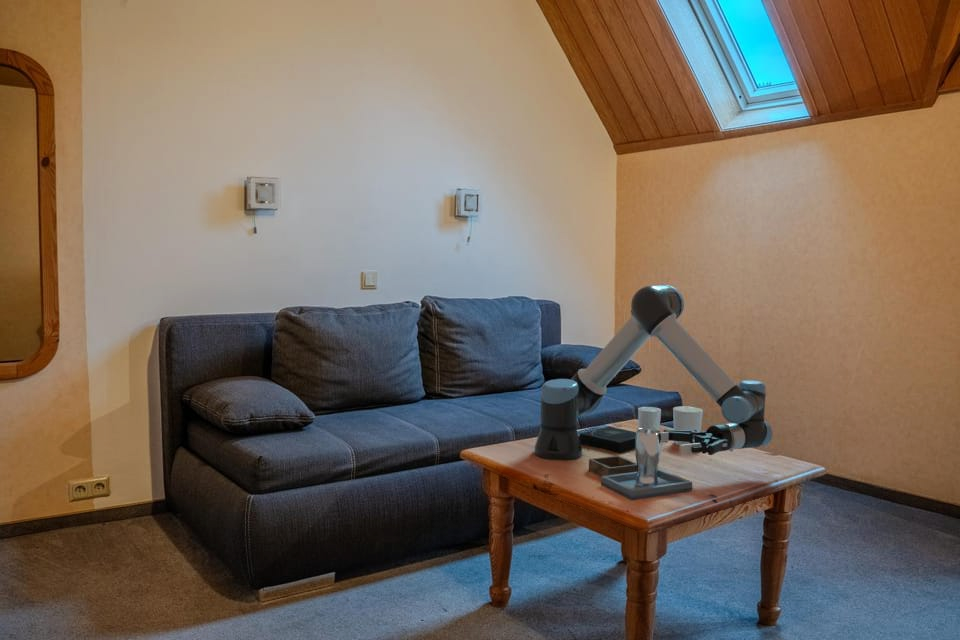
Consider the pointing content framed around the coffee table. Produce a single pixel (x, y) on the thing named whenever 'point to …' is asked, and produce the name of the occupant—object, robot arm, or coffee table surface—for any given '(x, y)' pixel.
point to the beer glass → (647, 456)
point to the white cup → (649, 417)
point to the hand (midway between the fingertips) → (664, 444)
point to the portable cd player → (609, 439)
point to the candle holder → (687, 420)
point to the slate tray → (630, 490)
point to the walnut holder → (611, 465)
